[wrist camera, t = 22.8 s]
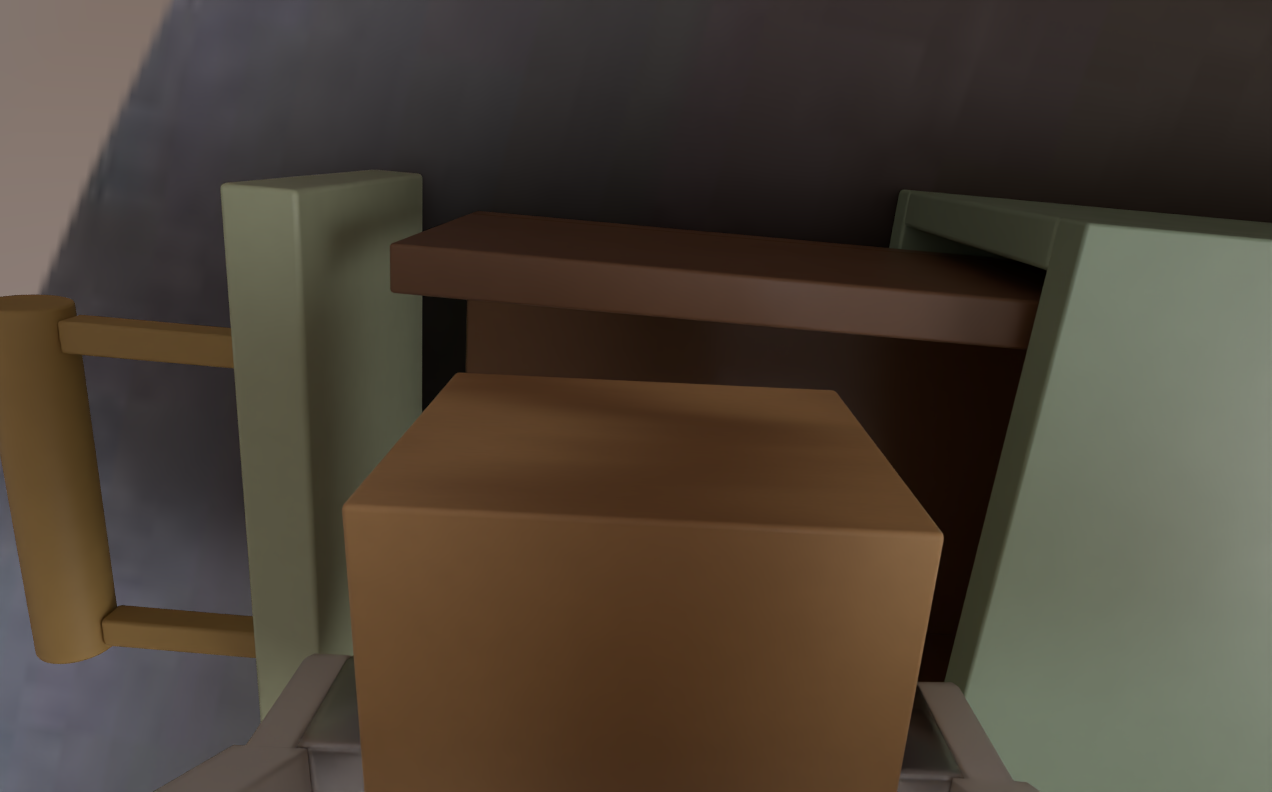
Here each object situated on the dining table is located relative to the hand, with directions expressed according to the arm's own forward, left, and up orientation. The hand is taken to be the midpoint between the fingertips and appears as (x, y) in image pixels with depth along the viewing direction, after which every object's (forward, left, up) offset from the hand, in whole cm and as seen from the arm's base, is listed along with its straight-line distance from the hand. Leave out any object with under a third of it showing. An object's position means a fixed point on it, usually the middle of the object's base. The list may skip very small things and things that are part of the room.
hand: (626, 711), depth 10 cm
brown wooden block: (0, 0, -2) cm, 2 cm away
